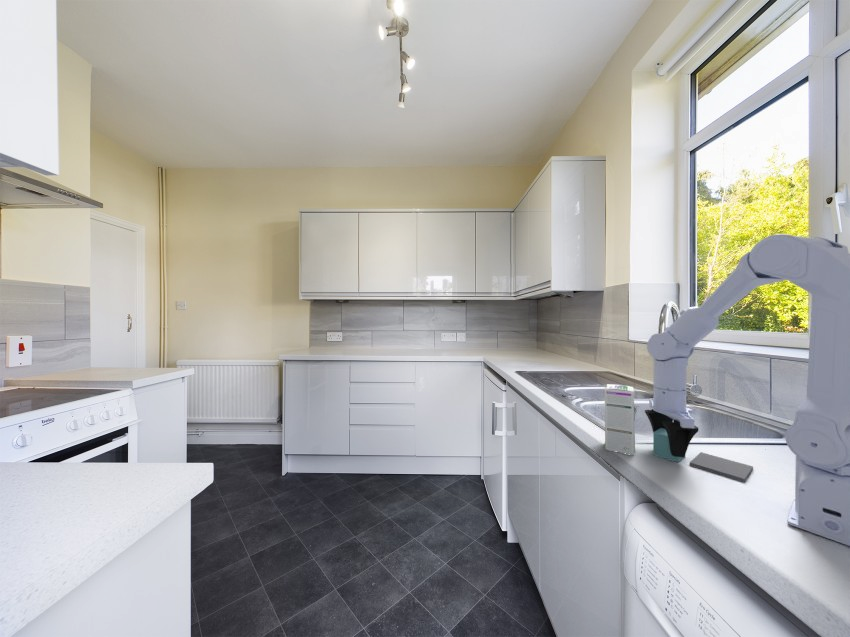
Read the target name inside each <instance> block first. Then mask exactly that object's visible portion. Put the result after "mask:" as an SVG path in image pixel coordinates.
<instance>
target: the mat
mask: <svg viewBox="0 0 850 637" xmlns="http://www.w3.org/2000/svg"><path fill="white" fill-rule="evenodd" d="M689 466H690V467H694V468H697V469H701V470H704V471H708V472H711V473H714V474H717V475H721V476H723V477H726V478H730V479H733V480H737V481H740V482H743V483H745V482H746V481H747V480H748V478H749V476H750V475H751V473H752V471H753V470H754V466H752V465H750V464H749V465H748V464H745V463H742V462H738V461H735V460H731V459H727V458H723V457H720V456H716V455H713V454H709V453H706V452H702V451H701V452H700V453H698V454H696V456H695V457H694V458H693V459H692V460H690V461H689Z"/></svg>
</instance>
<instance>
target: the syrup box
mask: <svg viewBox="0 0 850 637" xmlns="http://www.w3.org/2000/svg"><path fill="white" fill-rule="evenodd" d="M634 391H635V388H634V386H632V385H631V386H630V385H625V384H618V383H617V384H616V383H615V384H614V383H613V384H612V383H611V384H609V383H607V384H605V387H604V436H605V438H604V439H605V440H604V441H605V442H604V444H605V445H604V446H605V448H604V449H605V450H606V451H608V452H612V451H617V452H621V453H620V454H622V453H626V454H625V455H627V454H630V455H629V456H632V455H634V456H635V454H636V414H635V413H636V412H635V411H636V409H635V392H634ZM617 452H616V453H617Z"/></svg>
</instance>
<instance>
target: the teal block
mask: <svg viewBox="0 0 850 637" xmlns="http://www.w3.org/2000/svg"><path fill="white" fill-rule="evenodd" d="M652 434H653V436H652V437H653V442H652V445H653V447H652V448H653V450H652V451H653V454H654V456H656V455H657V457H659V458H660V457H661V458H663V459H667V460H670V461H673V462H676V463H680V462H681V461H682V460H683V459H684V458H685V457H686V455H685V456H684V457H675V456H672V455H671V452H670V446H669V439H668V435H667V432H666V429H663V428H660V429H658V430H657V431H655V432H653V431H652ZM653 454H652V455H653Z"/></svg>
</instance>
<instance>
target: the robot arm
mask: <svg viewBox="0 0 850 637" xmlns="http://www.w3.org/2000/svg"><path fill="white" fill-rule="evenodd" d="M740 257H741V258H740V259H739V262H738V264H737V265H736V267H735V269H733V271H732V272H731V273H730V274H729V275H728V276H727V277H726V278H725V279H724V280H723V282H722V283H720V285H719V286H718V287H717V288H716V289H715V290H713V292H712V293H711V294H710V295H709V296H708V297H707V298H706V299H705V301H704V302H703V303H702V304H701V305H699V306H691V307H689V308H687V309H682V310H681V311H680V312H679V314H678V315H679V317H678V318H677V319H676V320H675V321H673V323H672V324H670V326H666V327H665V328H664V329H663V330H664V331H663V332H661V333H655V334H652V335H651V336H650V338H649V339H648V341H647V344H646V349H647V352H648V354H649V355H650V356H651V357H652V358H653V376H652V377H653V381H652V382H653V398H649V399H648V400H649V403H648V404H649V408H650V409H645V410H644V413H645V415H646V416H647V418H648V420H649V423H650V426H651V429H652V433H653V432H655V431H657V430H658V429H660V428H663V429H666V432H667V435H668V439H669V446H670V452H671V455H672V456H675V457H684V456H685V457H686V454H687V452H688V448H689V445H690V442H691V441H692V439H693V438H694V436H695V435H696V434H697V433H698V432H699V427H698V426H697V425H695V418H693V417H692V416H691V414H693V409H691V408H689V407H687V375H688V374H687V371H688V370H687V367H688V366H689V359H690V358H691V357H692V355H693V354H694V352H695V346H697V345H698V344H699V343H700V342H701V341H702V340H704V338H706V337H707V336H708V335H710V334H711V333H712V332H713V331H715V329H717V328H718V327H719V325H720V322H719V317H721V315H723V314H724V313H725V312H727V311H728V310H729V309H730V308H732V307H733V306H734V305H736V304H737V303H738V302H740V301H741V300H742V299H743V298H745V297H746V296H747V295H749V294H750V293H751V292H753V291H754V290H755V289H757V287H760V286H765V285H771V284H775V283H779V282H784V281H789V282H790V283H791V284H793V285H795V286H797V287H799V288H800V289H802V290H804V291H807V292H808V293H810V295H811V310H810V311H811V312H810V313H811V314H810V326H809V328H810V329H809V345H808V364H807V366H808V367H807V379H806V380H807V384H806V397H805V399H803V401H802V402H801V404H800V405H798V408H797V409H796V411H795V418H794V421H793V423H792V424H791V425H790V426H789V427H787V430H786V431H785V435H784V436H785V437H784V438H785V443H786V444H787V447H788V448H789V450H790V451H791V453H792V454H794V455H795V476H794V477H795V478H794V479H795V480H794V481H795V483H794V485H795V489H794V490H795V494H794V496H795V498H794V499H793V501H792V504H791V507H790V510H789V514H788V517H787V519H786V521H787V524H789V525H790V526H792V527H796V528H798V529H801V530H804V531H806V532H810V533H813V534H815V535H818V536H821V537H824V538H826V539H829V540H831V541H832V540H833V541H834V542H837V543H840V544H843V545H845V546H848V547H850V252H849V249H848V246H847V245H844V244H842V243H838V242H836V241H833V240H831V239H828V238H825V237H820V236H819V237H818V236H817V237H808V236H807V237H806V236H797V235H792V234H787V233H777V234H771V235H769V236H766V237H764V238H762V239H760V240H759V241H757V243H756V244H754V245H753V247H752V249H751V250H750V251H747V252H746V253H745V254H744V255H743V256H740ZM685 457H684V458H685Z"/></svg>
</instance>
